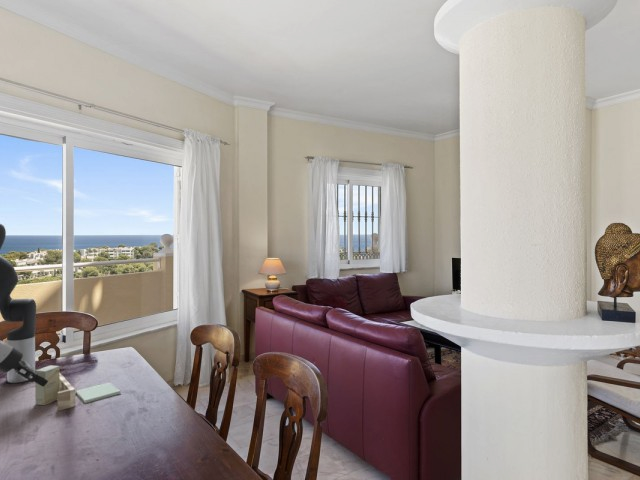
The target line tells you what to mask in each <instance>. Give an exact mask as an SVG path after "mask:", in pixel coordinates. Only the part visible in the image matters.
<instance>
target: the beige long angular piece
mask: <svg viewBox="0 0 640 480" xmlns="http://www.w3.org/2000/svg"><path fill="white" fill-rule="evenodd" d="M59 388H60V392H57V400H56V401H57V402H56V403H57V406H56V407H57V411H59V412H60V411H62V410H66V409H70V408H74V407H76V388H75V387H74V386H73V385H72V384H71V383H70V382H69V380H67V379H66V378H65V376H64V375H63V374H61V373H60V372H59Z"/></svg>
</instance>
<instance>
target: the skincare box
mask: <svg viewBox="0 0 640 480" xmlns="http://www.w3.org/2000/svg"><path fill="white" fill-rule="evenodd" d="M35 370H36V371H35V373H37V374H39V376H41V377H43V378H44V379H46V380H47V381H48V382H47V384H46V385H45V386H41V385H39V384H37V383H36V382H34V383H35V394H34V395H35V405H40V406H46V405H49V404H51V403H53V402H55V401H57V392H60V388H59V373H60V365H54V364H53V365H51V364H50V365H47V366H45V367H41V368H38V369H35Z"/></svg>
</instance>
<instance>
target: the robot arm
mask: <svg viewBox="0 0 640 480" xmlns="http://www.w3.org/2000/svg"><path fill="white" fill-rule="evenodd" d="M6 231H7V230H6V227H5V226H4V224H3V223H0V250H1V249H2V247H3V244H4V242H5V239H6V234H7V232H6ZM18 281H19V277H18V274H17V272H16V269H15V267H14V265H13V264H12V263H11V262H10V261H9V260H8V259H6V258H5V257H3V256H2V255H0V315H1V317H2V319H3V320H4V321H5V322H7V323H19V322H22V325H21V326H20V327H18V328H15V329H12V330H9V331H8V332H7V334H6V342H5V341H3V340H1V339H0V372H1V373H7V374H6V376H7V377H6V379H7V380H6V381H7V383H11V384H15V383H16V384H17V383H24V382H27V381H30V382H31V383H35V382H36V383H37V384H39V385H41V386H45V385H46V384H47V382H48V381H47V380H46V379H44V378H43V377H41V376H39V374H37V373H35V371H36V370H37V369H36V327H37V326H36V324H37V323H36V321H37V320H36V319H37V316H36V315H37V303H36V300H35V299H33V298H15V299H14V298H12V297H11V294H12V292H13V291H14V290H15V288H16V286H17V284H18Z"/></svg>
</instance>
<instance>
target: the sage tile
mask: <svg viewBox="0 0 640 480" xmlns="http://www.w3.org/2000/svg"><path fill="white" fill-rule="evenodd" d="M75 395H77V397H78V398H80V400H81V401H82V402H83V404H87V403H90V402H95V401H99V400H102V399H105V398H109V397H113V396H116V395H117V396H118V395H121V390H120V389H119V388H118V387H117V386H115V385H114V384H113V383H111V382H110V381H109V382H105V383H101V384H98V385H93V386H89V387H85V388H80V389H78V390H75Z"/></svg>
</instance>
